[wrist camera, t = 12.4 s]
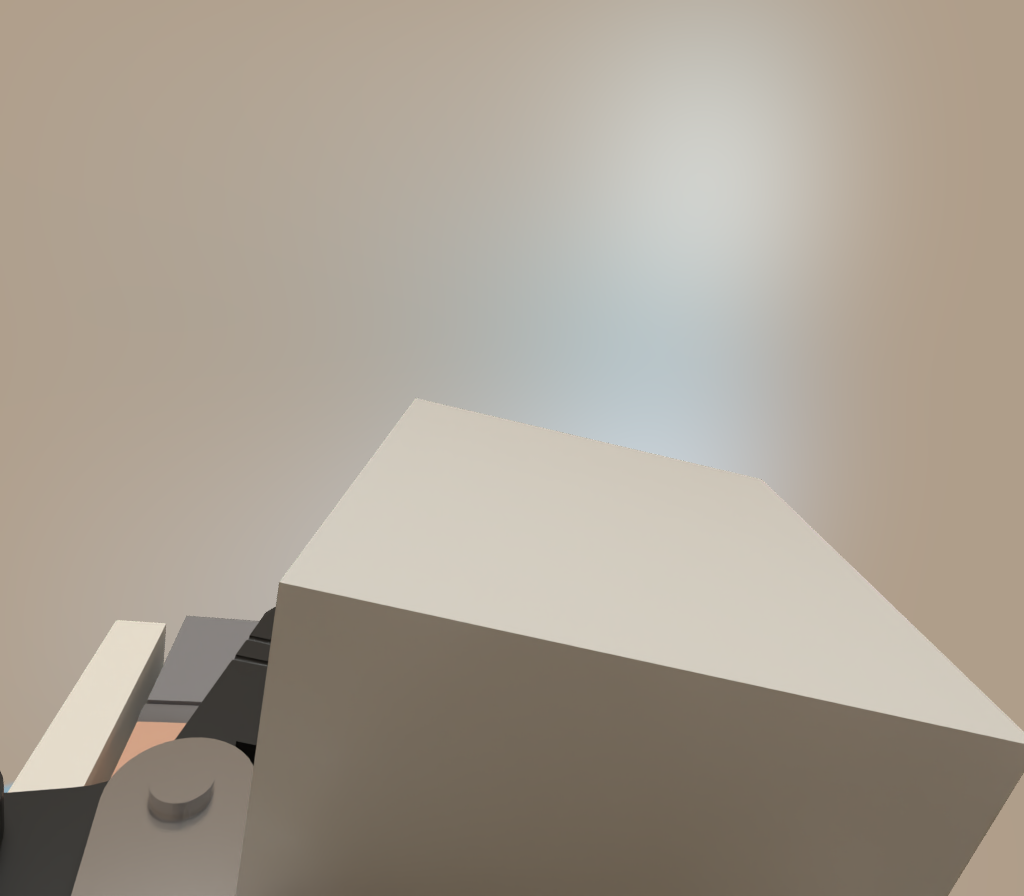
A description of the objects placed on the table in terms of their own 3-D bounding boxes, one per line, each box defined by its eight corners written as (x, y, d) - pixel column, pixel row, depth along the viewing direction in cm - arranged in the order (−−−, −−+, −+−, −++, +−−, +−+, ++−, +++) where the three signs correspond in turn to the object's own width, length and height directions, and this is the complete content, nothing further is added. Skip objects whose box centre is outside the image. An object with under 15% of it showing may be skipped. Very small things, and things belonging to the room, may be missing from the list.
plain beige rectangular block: (576, 960, 12) (761, 479, 9) (612, 1440, 7) (1038, 746, 4) (316, 910, 12) (415, 398, 9) (169, 1375, 7) (279, 582, 4)
